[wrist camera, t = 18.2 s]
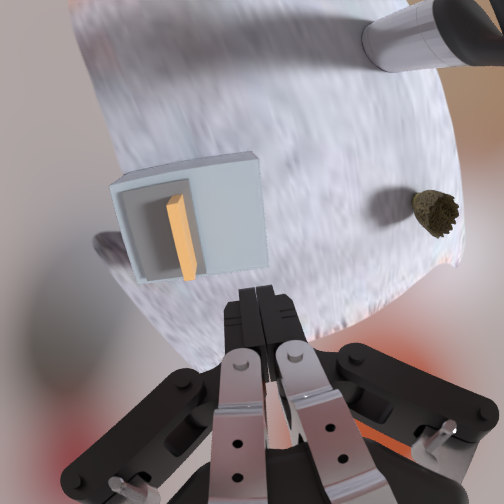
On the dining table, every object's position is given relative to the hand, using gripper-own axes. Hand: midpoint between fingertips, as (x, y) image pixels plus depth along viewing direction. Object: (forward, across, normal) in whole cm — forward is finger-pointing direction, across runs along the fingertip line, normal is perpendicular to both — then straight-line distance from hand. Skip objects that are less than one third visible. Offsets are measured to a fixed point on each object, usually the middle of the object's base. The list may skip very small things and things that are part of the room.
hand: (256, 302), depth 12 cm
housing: (+29, +6, +4) cm, 30 cm away
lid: (+21, +9, +4) cm, 23 cm away
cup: (+29, -32, +7) cm, 44 cm away
